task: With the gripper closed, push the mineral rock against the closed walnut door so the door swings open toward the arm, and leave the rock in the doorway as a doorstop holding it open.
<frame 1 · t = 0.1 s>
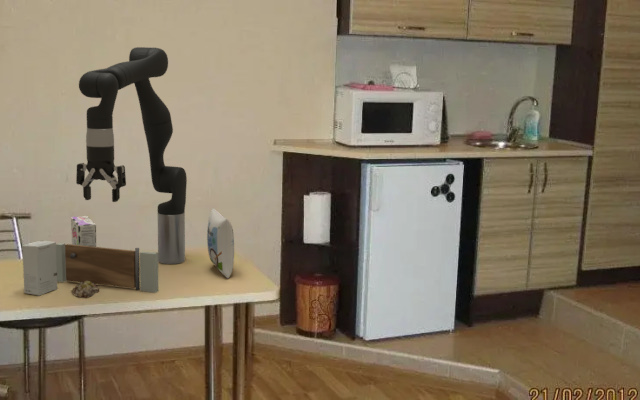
hand: (101, 200, 219), 29 cm above the table, tool pointing down, fingers open, 8 cm apart
door: (99, 266, 235), point 6 cm above the table, hinge at 0.0°
mineral rock: (84, 294, 229), on the table
pouch: (220, 272, 256), on the table
candy box: (84, 268, 255), on the table
skincare box: (41, 291, 229), on the table
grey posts: (137, 289, 233), on the table
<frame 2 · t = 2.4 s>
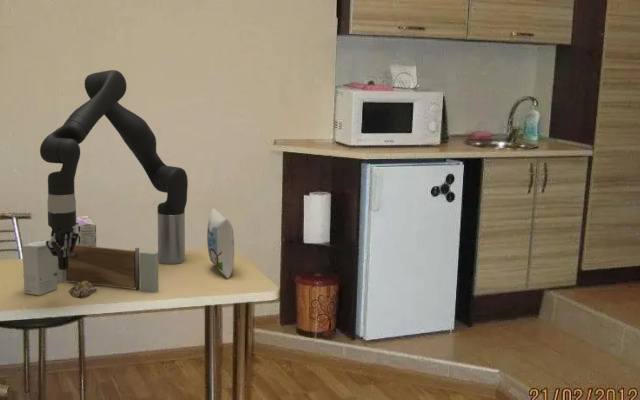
hand: (63, 269, 217), 10 cm above the table, tool pointing down, fingers closed
nothing on the table moved.
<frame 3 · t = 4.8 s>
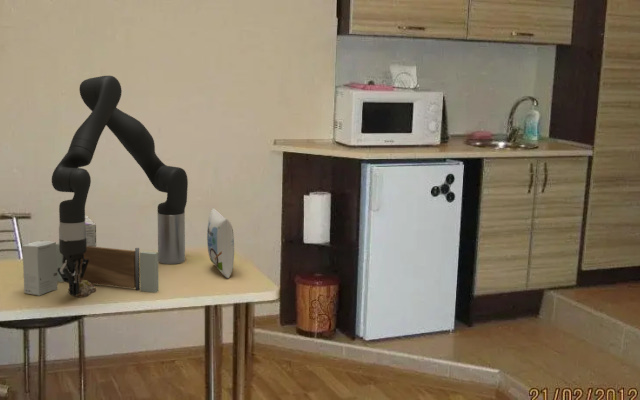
hand: (74, 294, 223), 1 cm above the table, tool pointing down, fingers closed
mineral rock: (81, 293, 229), on the table, touching gripper
everything else where it was.
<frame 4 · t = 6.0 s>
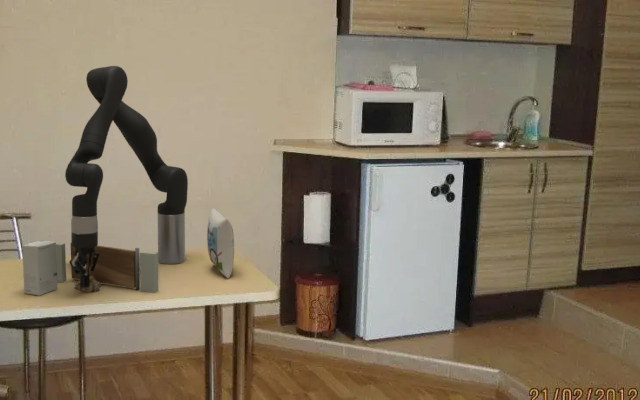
hand: (84, 287, 229), 2 cm above the table, tool pointing down, fingers closed
door: (101, 265, 236), point 6 cm above the table, hinge at 6.8°
mineral rock: (88, 289, 234), on the table, touching gripper
everything else where it was.
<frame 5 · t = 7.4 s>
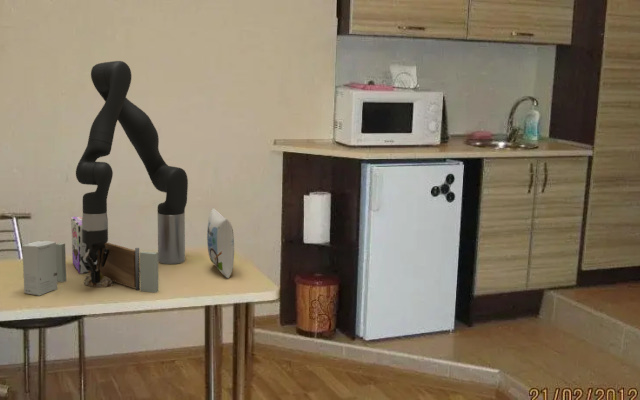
hand: (95, 282, 234), 1 cm above the table, tool pointing down, fingers closed
door: (110, 262, 239), point 6 cm above the table, hinge at 23.9°
mineral rock: (98, 285, 238), on the table, touching gripper
everything else where it was.
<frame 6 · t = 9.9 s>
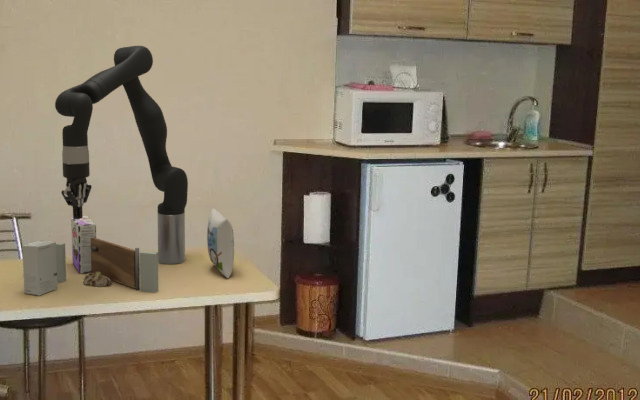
hand: (77, 218, 228), 22 cm above the table, tool pointing down, fingers closed
door: (111, 262, 240), point 6 cm above the table, hinge at 26.5°
mineral rock: (97, 284, 239), on the table
everything else where it was.
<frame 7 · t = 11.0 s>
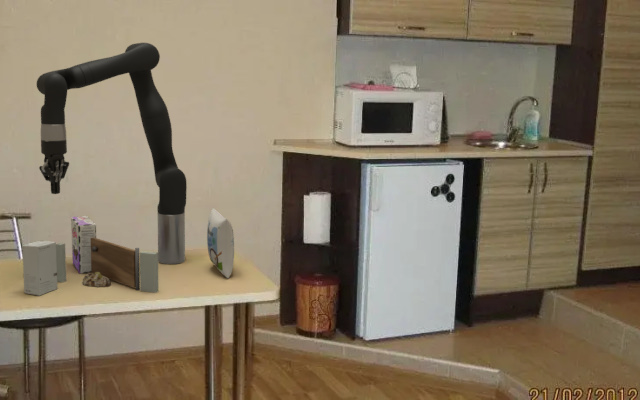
hand: (55, 193, 239), 27 cm above the table, tool pointing down, fingers closed
nothing on the table moved.
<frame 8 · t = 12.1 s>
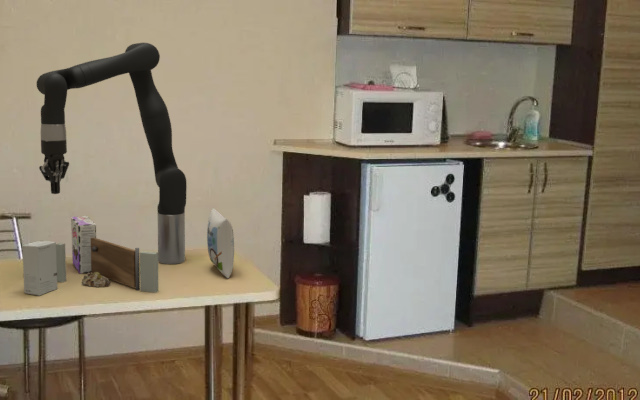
hand: (55, 193, 240), 27 cm above the table, tool pointing down, fingers closed
nothing on the table moved.
at the end: door at +26° (first picture: +0°); mineral rock inside the target area (4.6 cm from its centre), on the table; mineral rock moved 9.6 cm from its start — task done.
